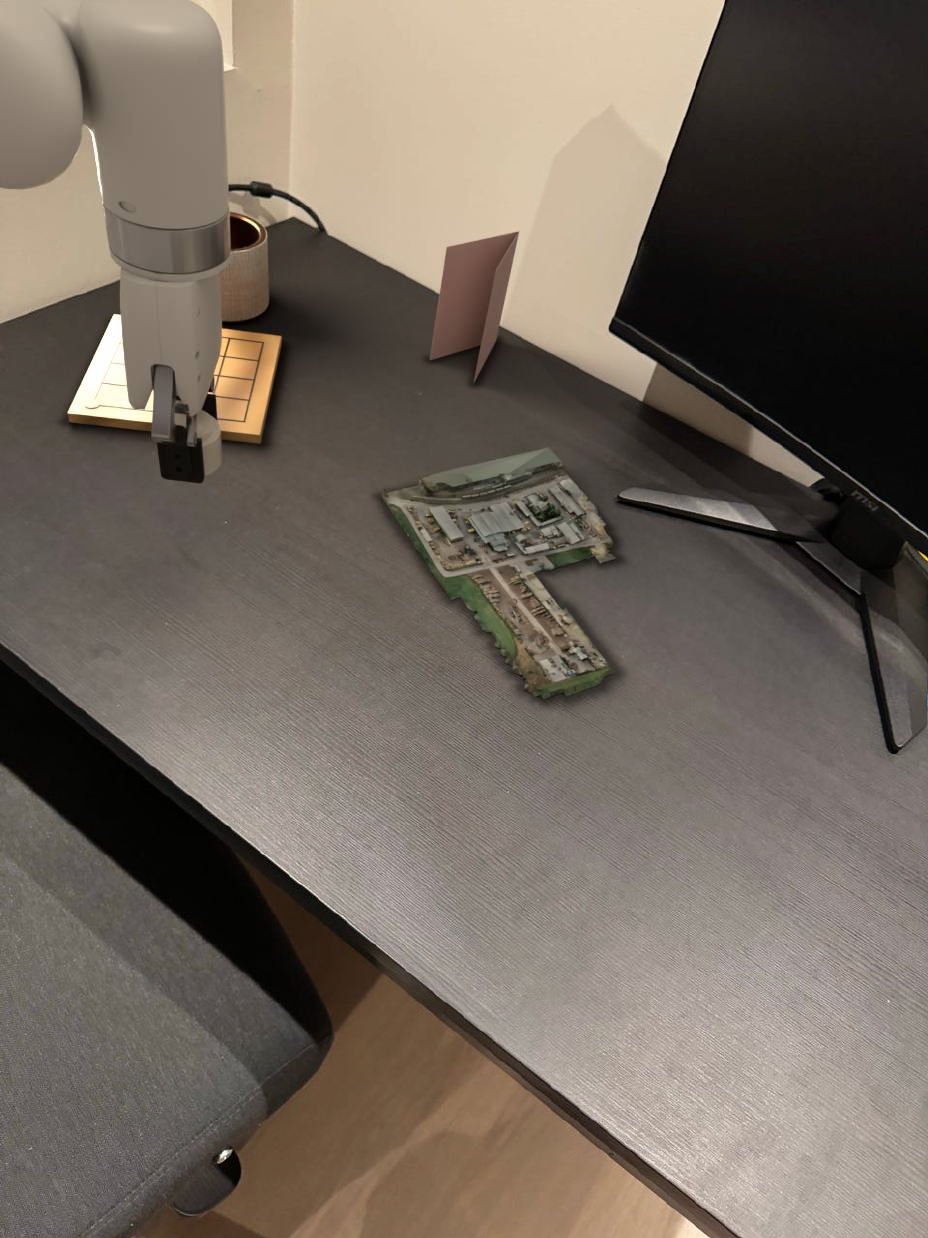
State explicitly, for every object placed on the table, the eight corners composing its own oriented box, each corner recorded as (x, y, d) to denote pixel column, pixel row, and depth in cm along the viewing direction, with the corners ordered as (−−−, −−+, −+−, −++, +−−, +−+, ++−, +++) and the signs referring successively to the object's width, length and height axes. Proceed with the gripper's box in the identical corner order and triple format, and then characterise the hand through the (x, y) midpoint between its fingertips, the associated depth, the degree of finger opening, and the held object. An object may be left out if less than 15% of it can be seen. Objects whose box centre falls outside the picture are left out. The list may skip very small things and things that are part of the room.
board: (69, 422, 90) (67, 412, 89) (115, 322, 103) (113, 313, 102) (260, 443, 93) (260, 434, 92) (281, 344, 106) (281, 335, 105)
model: (526, 712, 75) (530, 702, 74) (381, 497, 90) (382, 485, 89) (704, 643, 84) (711, 633, 83) (545, 458, 99) (549, 447, 98)
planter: (260, 331, 107) (259, 258, 100) (173, 317, 106) (165, 242, 98) (275, 288, 114) (275, 218, 107) (193, 275, 113) (187, 202, 106)
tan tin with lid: (153, 474, 66) (148, 436, 63) (167, 436, 69) (162, 399, 66) (216, 481, 66) (214, 445, 64) (227, 444, 69) (225, 407, 67)
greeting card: (492, 336, 115) (514, 227, 104) (527, 365, 112) (554, 256, 100) (425, 356, 109) (441, 243, 98) (461, 387, 106) (482, 273, 95)
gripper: (141, 166, 59) (166, 388, 72) (67, 288, 48) (113, 523, 61) (250, 185, 60) (255, 400, 73) (203, 308, 49) (219, 535, 62)
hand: (190, 454), depth 67 cm, fingers closed on tan tin with lid, 4 cm apart
